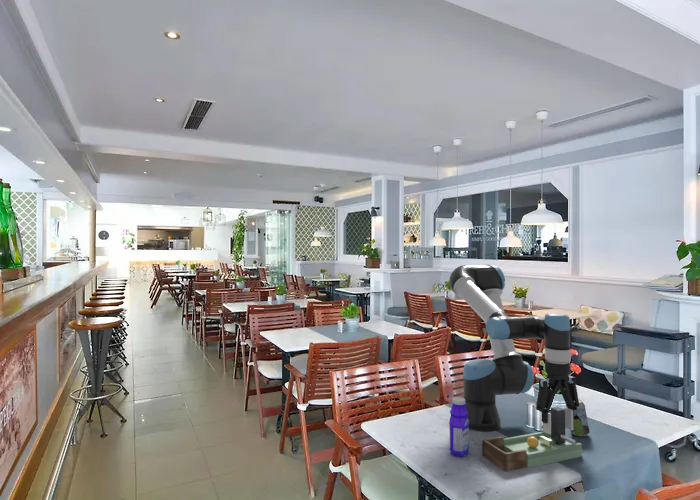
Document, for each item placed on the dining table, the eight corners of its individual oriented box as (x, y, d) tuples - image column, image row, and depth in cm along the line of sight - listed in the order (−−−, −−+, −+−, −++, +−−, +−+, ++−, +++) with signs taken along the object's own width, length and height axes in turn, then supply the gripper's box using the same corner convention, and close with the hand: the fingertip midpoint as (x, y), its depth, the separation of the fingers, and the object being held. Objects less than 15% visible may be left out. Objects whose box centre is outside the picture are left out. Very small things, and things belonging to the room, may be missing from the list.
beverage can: (592, 438, 150) (591, 404, 150) (569, 437, 151) (569, 402, 151) (586, 431, 156) (585, 398, 156) (564, 430, 157) (563, 397, 158)
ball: (525, 448, 137) (525, 437, 137) (528, 444, 140) (528, 433, 140) (536, 451, 135) (536, 439, 135) (540, 447, 137) (540, 436, 137)
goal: (502, 451, 139) (502, 436, 140) (526, 467, 129) (526, 450, 129) (482, 455, 137) (482, 439, 137) (505, 471, 127) (505, 454, 127)
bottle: (464, 459, 134) (464, 403, 134) (446, 455, 137) (446, 400, 137) (471, 451, 140) (471, 397, 140) (454, 446, 143) (454, 394, 143)
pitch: (552, 441, 148) (551, 429, 148) (581, 456, 136) (581, 444, 136) (500, 451, 140) (500, 438, 140) (528, 467, 129) (528, 454, 129)
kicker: (546, 433, 147) (546, 402, 148) (578, 449, 135) (578, 414, 135) (529, 436, 145) (529, 404, 145) (560, 453, 133) (560, 417, 133)
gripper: (572, 356, 149) (573, 422, 148) (523, 361, 141) (523, 430, 141) (591, 361, 141) (592, 430, 141) (540, 366, 134) (541, 439, 134)
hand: (558, 430), depth 141 cm, fingers open, 9 cm apart
